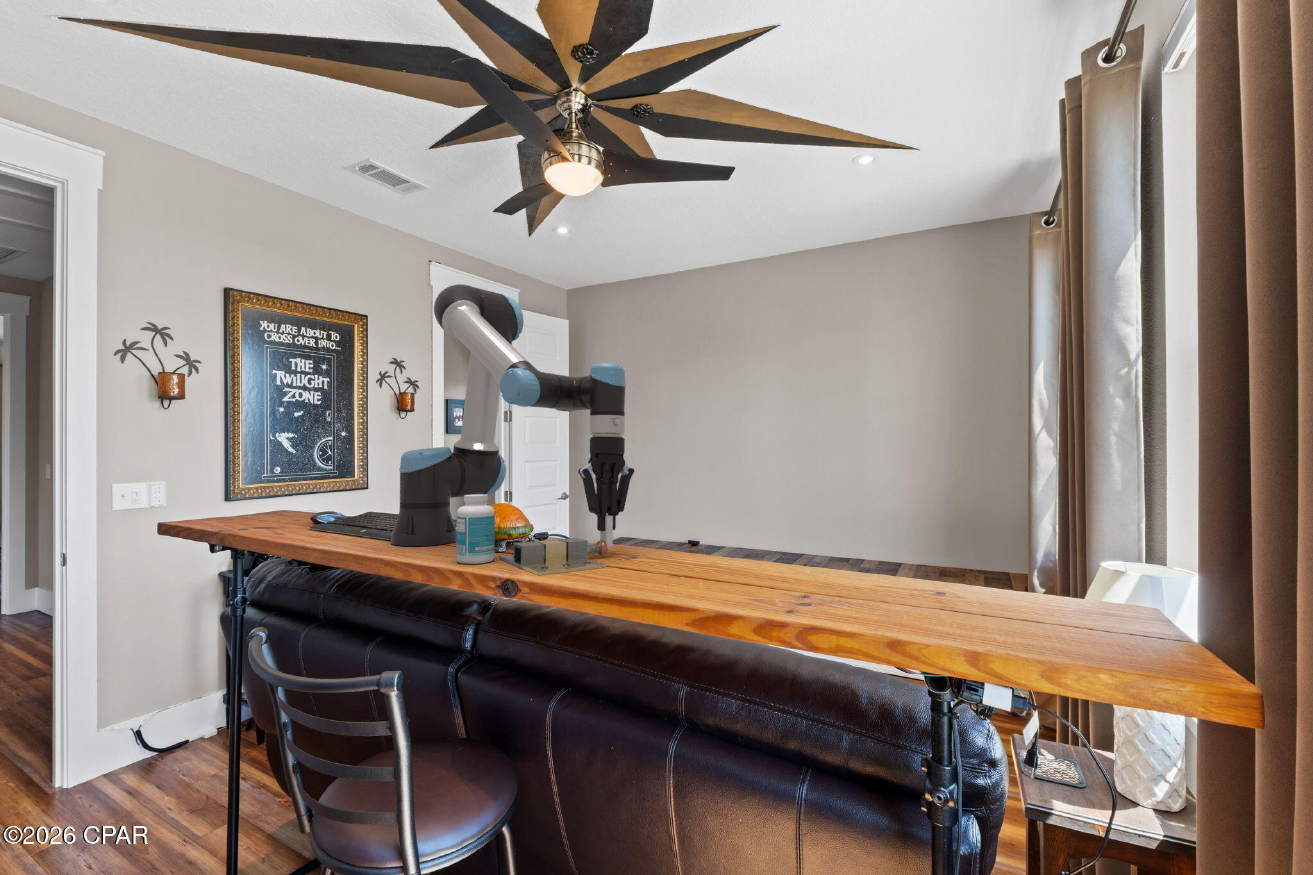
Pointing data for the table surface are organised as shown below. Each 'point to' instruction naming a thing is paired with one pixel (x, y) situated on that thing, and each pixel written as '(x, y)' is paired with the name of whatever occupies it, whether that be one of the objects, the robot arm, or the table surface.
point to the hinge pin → (597, 548)
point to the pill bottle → (475, 531)
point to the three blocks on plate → (552, 556)
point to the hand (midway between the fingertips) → (606, 545)
